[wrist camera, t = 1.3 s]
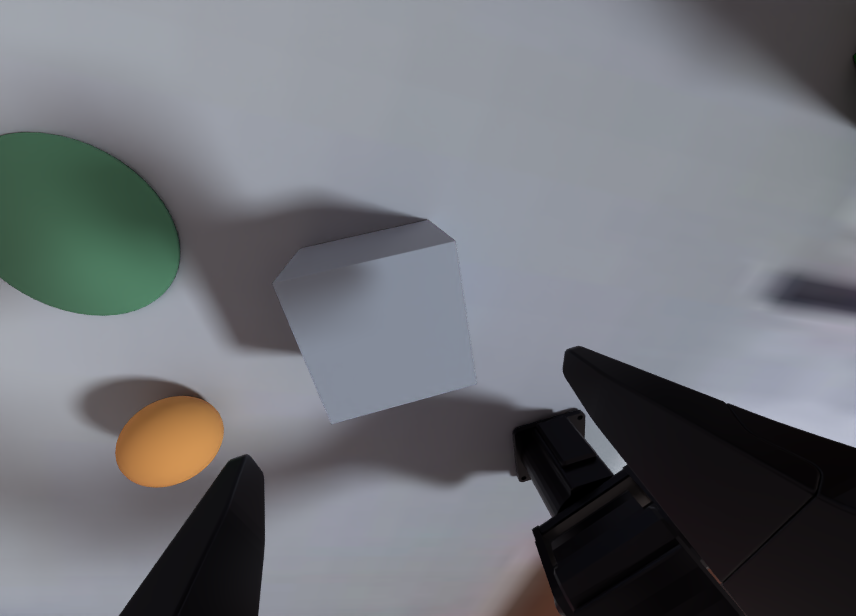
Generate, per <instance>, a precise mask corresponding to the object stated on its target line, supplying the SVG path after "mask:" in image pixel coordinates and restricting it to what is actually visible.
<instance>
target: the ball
mask: <svg viewBox="0 0 856 616" xmlns="http://www.w3.org/2000/svg"><path fill="white" fill-rule="evenodd" d="M223 433H224V427H223V422H222V419H221V417H220V415H219V413H218V411H217V410H216V409H215V408H214V407H213V406H212V405H211V404H209V403H208V402H206V401H204V400H202V399H199V398H196V397H190V396H174V397H168V398H165V399H161V400H158V401H156V402H154V403H152V404H150V405H148V406H146V407H144V408H143V409H141V410H140V411H139V412H137V413H136V414H135V415H134V416H133V417H132V418H131V419H130V420H129V421H128V422H127V424H126V425H125V426H124V428H123V429H122V431H121V433H120V435H119V437H118V440H117V443H116V451H115V454H116V461H117V464H118V467H119V469H120V471H121V472H122V473H123V474H124V475H125V476H126V477H127V478H128V479H129V480H131V481H132V482H134V483H136V484H139V485H142V486H147V487H166V486H172V485H175V484H178V483H181V482H184V481H186V480H188V479H190V478H192V477H194V476H195V475H197V474H198V473H199V472H201V471H202V470H203V469H204V468H205V467H207V466H208V464H209V463H210V462H211V461H212V460H213V459H214V457H215V456H216V454H217V452H218V451H219V448H220V446H221V444H222V440H223Z"/></svg>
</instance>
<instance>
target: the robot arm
mask: <svg viewBox="0 0 856 616" xmlns="http://www.w3.org/2000/svg"><path fill="white" fill-rule="evenodd" d="M563 374H564V376H565V378H566V380H567V381H568V383H569V384H570V386H571V387H572V389H573V391H574V392H575V394H576V395H577V397H578V398H579V400H580V401H581V403H582V405H583V406H584V408H585V409H586V411H587V412H588V414H589V415H590V417H591V418H592V420H593V421H594V422H595V424H596V425H597V426H598V428H599V429H600V430H601V432H602V433H603V434H604V435H605V437H606V438H607V439H608V440H609V442H610V443H611V444H612V445H613V447H614V448H615V449H616V450H617V452H618V453H619V454H620V456H621V457H622V458H623V459H624V461H625V462H626V463H627V465H626V466H624V467H623V470H621V471H620V472H618V473H617V474H615V475H614V474H613V473H612V472H611V471H610V469H609V468H608V467H607V466H606V464H605V463H604V462H603V461H602V460H601V458H600V457H599V456H598V455H597V453H596V452H595V450H594V449H593V448H592V447H591V446H590V444H589V443H588V442H587V441H586V439H585V414H584V413H583V412H582V411H581V410H576V411H573V412H569V413H566V414H563V415H559V416H556V417H552V418H549V419H546V420H542V421H539V422H535V423H532V424H529V425H525V426H522V427H518V428H516V429H515V430H514V431H513V441H514V451H515V462H516V472H517V477H518V479H519V481H520V482H525V481H528V480H532V481H533V483H534V485H535V487H536V489H537V491H538V492H539V494H540V496H541V498H542V500H543V502H544V503H545V505H546V507H547V509H548V511H549V513H550V515H551V516H552V518H551V519H549V520H548V521H546V522H545V523H543V524H542V525H540V526H536V527H535V528H533V529H532V531H533V534H534V537H535V540H536V541H535V543H536V546H537V549H538V552H539V555H540V558H541V561H542V564H543V567H544V570H545V573H546V576H547V579H548V581H549V584H550V587H551V590H552V593H553V596H554V601H555V606H556V608H557V610H558V612H559V613H560V614H561V615H562V616H745V615H744V614H743V612H742V611H741V609H742V610H743V611H744V612H745V614H746V615H747V616H856V448H854V447H851V446H848V445H845V444H842V443H839V442H836V441H833V440H830V439H827V438H824V437H821V436H818V435H815V434H812V433H809V432H806V431H803V430H800V429H797V428H794V427H791V426H788V425H786V424H783V423H780V422H777V421H774V420H771V419H769V418H766V417H763V416H761V415H758V414H755V413H752V412H750V411H747V410H745V409H742V408H739V407H737V406H734V405H732V404H729V403H727V404H726V403H725V402H724V401H721V400H718V399H716V398H713V397H711V396H708V395H706V394H703V393H700V392H698V391H695V390H693V389H690V388H687V387H685V386H682V385H680V384H677V383H675V382H672V381H669V380H667V379H664V378H662V377H659V376H657V375H654V374H651V373H649V372H646V371H644V370H641V369H638V368H636V367H633V366H631V365H628V364H626V363H623V362H620V361H618V360H615V359H613V358H610V357H607V356H605V355H602V354H600V353H597V352H595V351H592V350H589V349H587V348H584V347H581V346H576V347H572V348H569V349H567V350H566V351H565V354H564V362H563ZM264 547H265V496H264V475H263V472H262V471H261V469H260V468H259V467H258V465H257V464H256V463H255V461H254V460H253V459H252V457H251V456H250V455H247V454H246V455H242V456H239V457H236V458H233V459H231V460H230V461H229V462H228V463H227V464H226V465H225V467H224V468H223V469H222V471H221V472H220V474H219V475H218V477H217V478H216V479H215V481H214V482H213V484H212V485H211V486H210V488H209V489H208V491H207V492H206V493H205V495H204V496H203V498H202V499H201V500H200V502H199V503H198V505H197V506H196V508H195V509H194V510H193V512H192V513H191V515H190V516H189V517H188V519H187V520H186V522H185V523H184V524H183V526H182V527H181V529H180V530H179V532H178V533H177V534H176V536H175V537H174V539H173V540H172V541H171V543H170V544H169V546H168V547H167V548H166V550H165V551H164V553H163V554H162V556H161V557H160V558H159V560H158V561H157V563H156V564H155V565H154V567H153V568H152V570H151V571H150V572H149V574H148V575H147V577H146V578H145V579H144V581H143V582H142V584H141V585H140V587H139V588H138V589H137V591H136V592H135V594H134V595H133V596H132V598H131V599H130V601H129V602H128V603H127V605H126V606H125V608H124V609H123V611H122V612H121V613H120V615H119V616H258V611H259V601H260V591H261V580H262V570H263V560H264ZM708 568H710V569H711V570H712V572H713V573H714V574H715V575H716V577H717V578H718V579H719V580H720V582H722V584H723V586H724V587H725V588H726V590H727V591H728V592H729V593H730V595H731V596H732V597H733V598H734V600H735V601H736V602H737V603H738V605H739V606H740V607H741V609H740V608H739V607H738V606H737V604H736V603H735V602H734V601H733V600H732V599H731V597H730V596H729V595H728V594H727V593H726V592H725V590H724V589H723V588H722V587H721V586H720V584H719V583H718V582H717V581H716V580H715V578H714V577H713V576H712V575H711V574H710V572H709V571H708V570H707V569H708Z"/></svg>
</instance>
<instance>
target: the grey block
mask: <svg viewBox="0 0 856 616" xmlns="http://www.w3.org/2000/svg"><path fill="white" fill-rule="evenodd" d="M272 285H273V287H274V290H275V292H276V294H277V297H278V299H279V301H280V304H281V306H282V309H283V311H284V313H285V316H286V318H287V320H288V323H289V325H290V328H291V330H292V332H293V335H294V337H295V339H296V342H297V344H298V346H299V349H300V351H301V354H302V356H303V358H304V361H305V363H306V365H307V368H308V370H309V373H310V375H311V377H312V380H313V382H314V384H315V387H316V389H317V392H318V394H319V396H320V399H321V401H322V403H323V406H324V408H325V410H326V413H327V415H328V418H329V420H330V422H331V424H335V423H338V422H342V421H345V420H349V419H353V418H356V417H360V416H363V415H367V414H371V413H374V412H378V411H382V410H385V409H389V408H392V407H396V406H400V405H403V404H407V403H410V402H414V401H418V400H421V399H425V398H429V397H432V396H436V395H439V394H443V393H447V392H450V391H454V390H458V389H461V388H465V387H468V386H472V385H476V384H477V381H476V374H475V367H474V360H473V354H472V347H471V340H470V333H469V327H468V320H467V313H466V306H465V300H464V293H463V286H462V279H461V273H460V266H459V259H458V252H457V246H456V241H455V240H454V239H453V238H451V237H450V236H449V235H447V234H446V233H445V232H444V231H442V230H441V229H440V228H438V227H437V226H436V225H434V224H433V223H432V222H431V221H429V220H425V221H421V222H416V223H412V224H407V225H403V226H398V227H394V228H389V229H385V230H380V231H376V232H371V233H367V234H362V235H358V236H354V237H349V238H345V239H340V240H336V241H331V242H327V243H322V244H318V245H313V246H309V247H304V248H300V249H299V250H298V252H297V253H296V254H295V255H294V257H293V258H292V259H291V260H290V262H289V263H288V264H287V265H286V267H285V268H284V269H283V270H282V272H281V273H280V274H279V275H278V277H277V278H276V279H275V280H274V282H273V283H272Z"/></svg>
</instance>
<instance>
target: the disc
mask: <svg viewBox="0 0 856 616" xmlns="http://www.w3.org/2000/svg"><path fill="white" fill-rule="evenodd" d="M179 261H180V244H179V238H178V234H177V231H176V227H175V225H174V222H173V220H172V218H171V216H170V214H169V212H168V210H167V208H166V207H165V205H164V203H163V202H162V201H161V199H160V198H159V197H158V195H157V194H156V193H155V191H154V190H153V189H152V188H151V187H150V186H149V185H148V184H147V183H146V182H145V181H144V180H143V179H142V178H141V177H140V176H139V175H138V174H137V173H135V172H134V171H133V170H132V169H130V168H129V167H128V166H126V165H125V164H124V163H122V162H121V161H119V160H118V159H116V158H114V157H113V156H111V155H109V154H108V153H106V152H104V151H102V150H100V149H98V148H96V147H93V146H91V145H89V144H86V143H83V142H81V141H78V140H75V139H71V138H67V137H63V136H59V135H52V134H46V133H30V132H22V133H12V134H6V135H2V136H0V278H2V279H3V280H4V281H5V282H7V283H8V284H9V285H11V286H12V287H14V288H16V289H17V290H19V291H20V292H22V293H24V294H26V295H28V296H30V297H31V298H33V299H35V300H37V301H40V302H42V303H45V304H47V305H49V306H52V307H55V308H59V309H62V310H65V311H70V312H74V313H79V314H86V315H101V316H105V315H118V314H123V313H128V312H132V311H135V310H138V309H140V308H142V307H145V306H147V305H148V304H150V303H152V302H153V301H155V300H156V299H158V298H159V297H160V296H161V295H162V294H164V293H165V291H166V290H167V289H168V288H169V287H170V285H171V284H172V282H173V280H174V278H175V276H176V273H177V270H178V267H179Z"/></svg>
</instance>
